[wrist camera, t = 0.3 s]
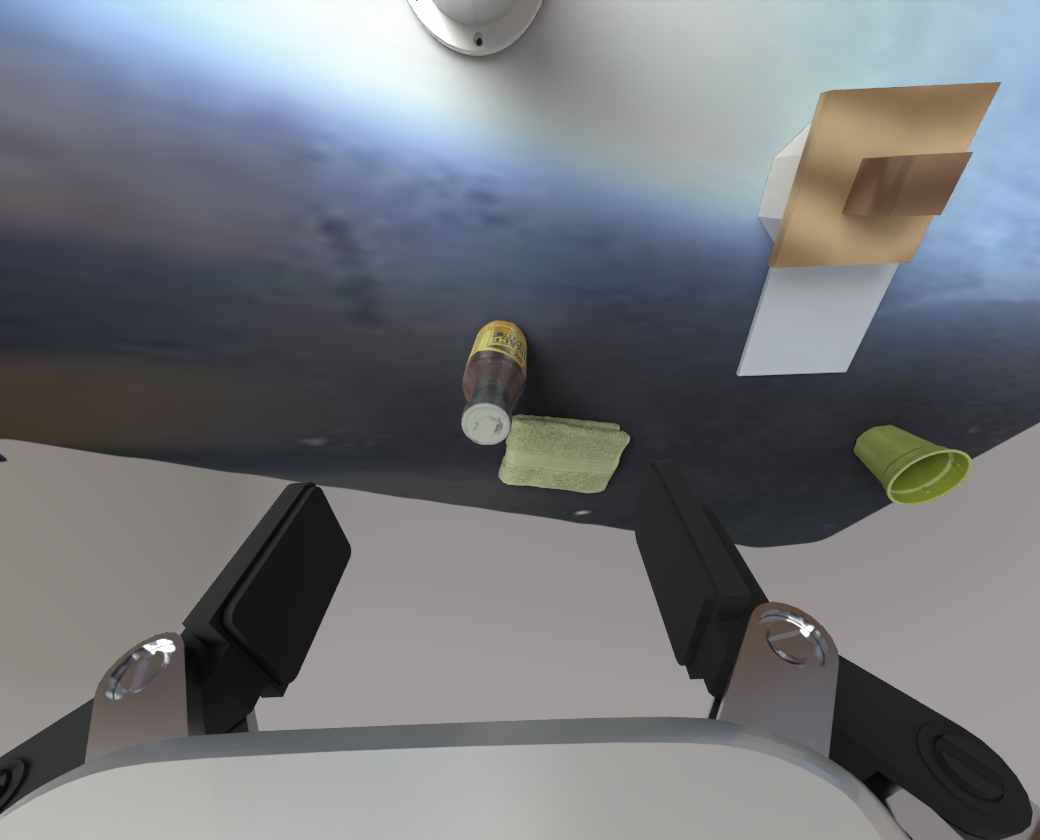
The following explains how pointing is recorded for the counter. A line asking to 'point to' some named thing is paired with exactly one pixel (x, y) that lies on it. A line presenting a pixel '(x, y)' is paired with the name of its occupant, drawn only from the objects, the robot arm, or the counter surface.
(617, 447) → the washcloth
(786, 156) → the bowl
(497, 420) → the sauce bottle
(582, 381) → the counter surface
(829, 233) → the lid
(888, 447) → the plant pot
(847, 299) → the mat
